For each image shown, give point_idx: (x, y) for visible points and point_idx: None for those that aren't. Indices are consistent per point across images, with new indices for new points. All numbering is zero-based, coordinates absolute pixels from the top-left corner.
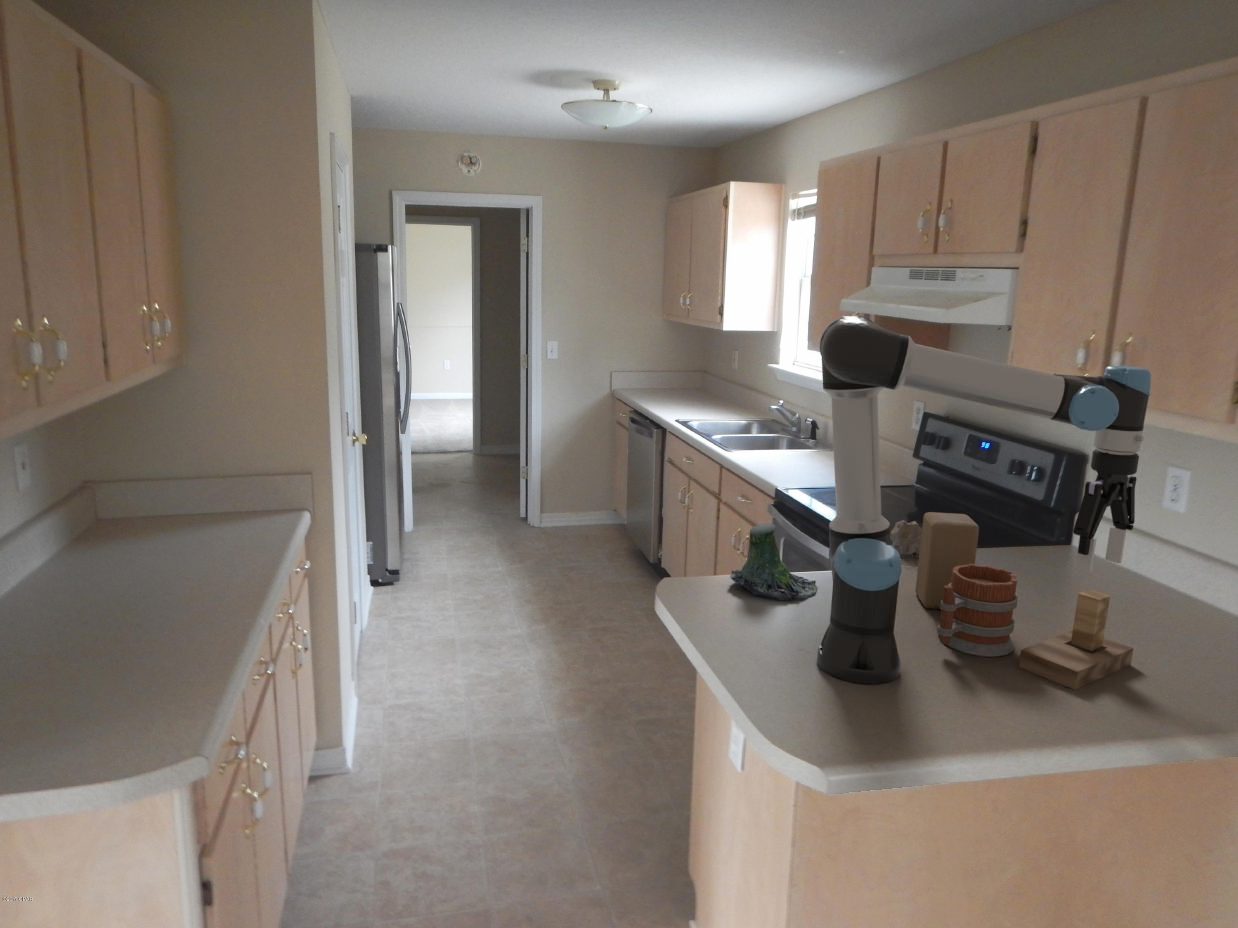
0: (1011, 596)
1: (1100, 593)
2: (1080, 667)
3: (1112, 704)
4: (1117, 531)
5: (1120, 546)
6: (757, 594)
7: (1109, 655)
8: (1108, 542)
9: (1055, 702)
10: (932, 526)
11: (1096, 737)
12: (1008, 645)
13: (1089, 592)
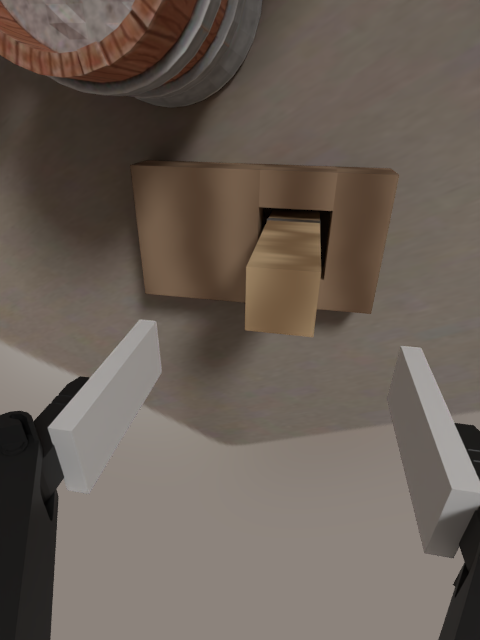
0: (102, 81)
1: (310, 310)
2: (168, 288)
3: (167, 336)
4: (433, 509)
5: (404, 455)
6: None
7: None
8: (421, 408)
9: (88, 281)
10: None
11: (58, 357)
12: (178, 96)
13: (288, 285)
